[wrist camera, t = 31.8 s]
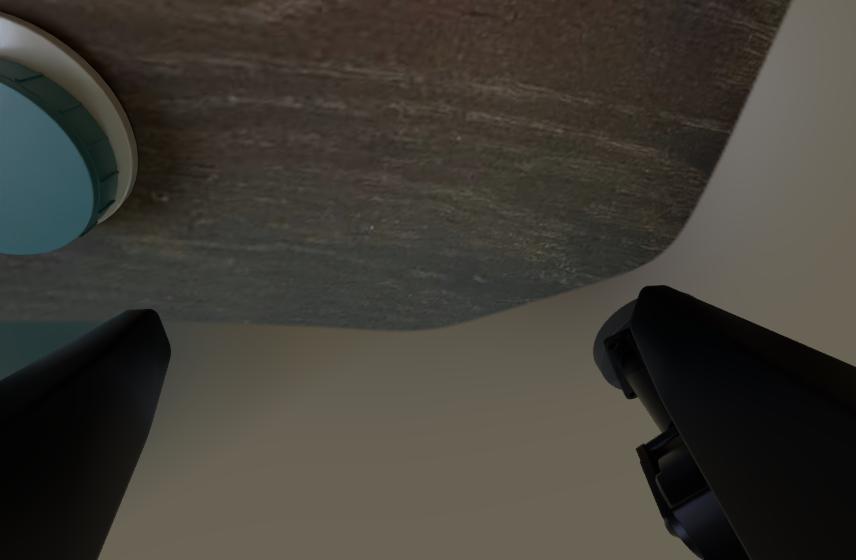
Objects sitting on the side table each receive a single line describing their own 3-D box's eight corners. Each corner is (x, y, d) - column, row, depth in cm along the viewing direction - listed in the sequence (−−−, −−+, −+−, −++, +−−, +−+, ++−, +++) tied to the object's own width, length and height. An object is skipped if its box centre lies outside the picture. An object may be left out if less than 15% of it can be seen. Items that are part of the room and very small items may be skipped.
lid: (109, 254, 19) (86, 278, 17) (-87, 196, 17) (-134, 218, 15) (130, 105, 16) (104, 118, 14) (-105, 13, 14) (-166, 16, 12)
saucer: (184, 167, 18) (179, 172, 18) (41, 259, 19) (32, 266, 19) (-13, -50, 14) (-27, -52, 13) (-177, 87, 15) (-195, 91, 15)
